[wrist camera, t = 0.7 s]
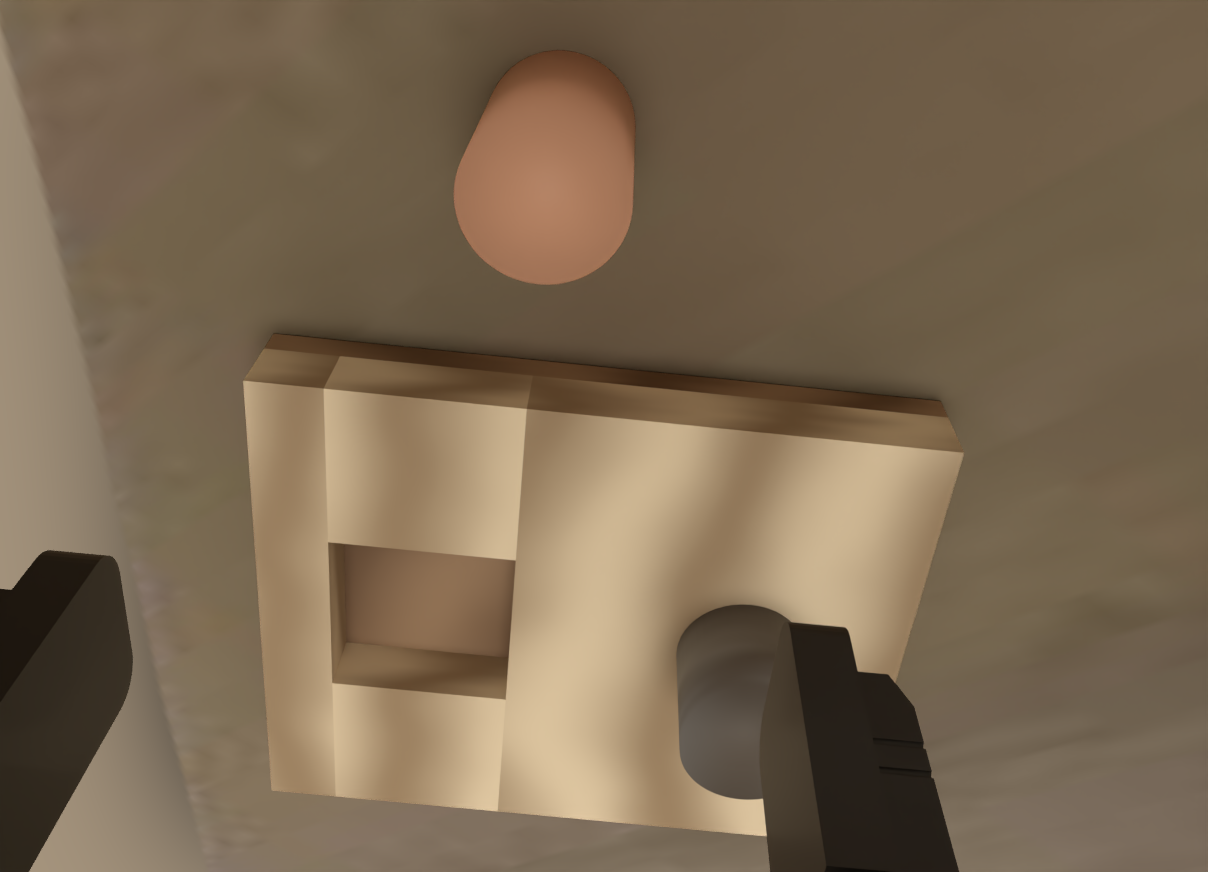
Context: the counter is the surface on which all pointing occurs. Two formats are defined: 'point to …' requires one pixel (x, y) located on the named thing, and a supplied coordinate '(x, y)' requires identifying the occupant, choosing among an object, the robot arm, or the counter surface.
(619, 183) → the terracotta pin
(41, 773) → the robot arm
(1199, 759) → the counter surface
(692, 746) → the pin board
